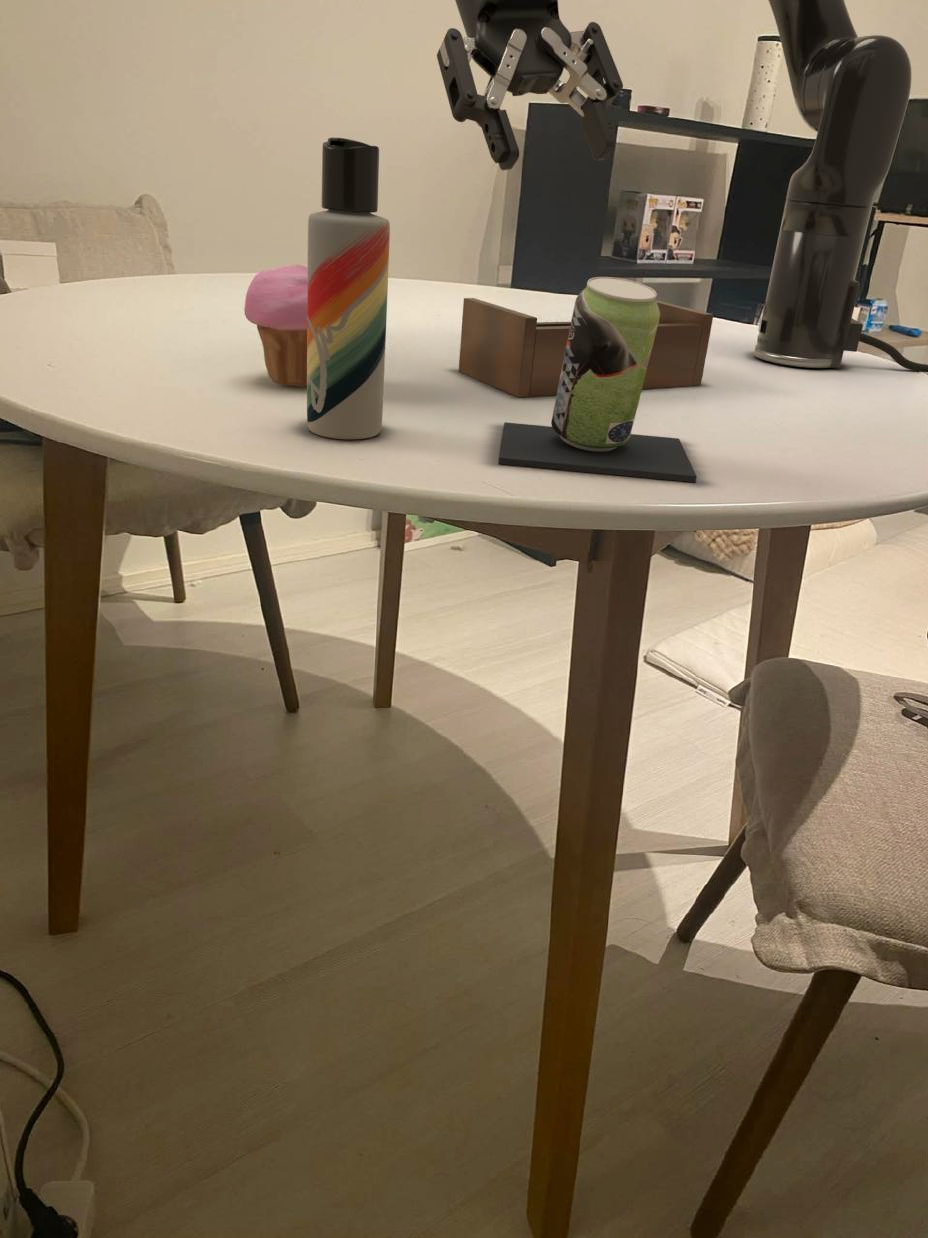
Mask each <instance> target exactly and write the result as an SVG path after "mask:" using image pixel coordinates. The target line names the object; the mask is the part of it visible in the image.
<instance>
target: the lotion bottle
mask: <svg viewBox="0 0 928 1238" xmlns="http://www.w3.org/2000/svg"><path fill="white" fill-rule="evenodd" d="M321 157H322V158H321V162H322V163H321V208H322V209H324V210H321V211H316V212H313V213H310V214H309V215H308V220H307V268H308V286H307V386H306V423H307V428H308V430H309V431H310V432H311V433H313V434H315V435H317V436H320V437H324V438H329V439H337V440H362V439H368V438H372V437H375V436H377V435H379V434H380V433H381V431H382V427H383V426H382V425H383V416H384V415H383V414H384V412H383V411H384V395H385V394H384V392H385V390H384V389H385V365H386V343H387V341H386V339H387V319H388V317H387V315H388V292H389V291H388V290H389V269H390V268H389V267H390V266H389V265H390V238H391V237H390V236H391V234H390V233H391V224H390V221H389V219H387V218H385V217H382V216H380V215H377V214H374V213H378V208H379V173H380V171H379V170H380V147H378V146H377V145H370V144H368V143H365V142H362V141H358V140H354V139H351V138H344V137H329V138H327V141H324V142H323V143H322V153H321Z"/></svg>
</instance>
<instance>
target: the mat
mask: <svg viewBox="0 0 928 1238" xmlns="http://www.w3.org/2000/svg"><path fill="white" fill-rule="evenodd" d="M498 464H499V465H506V466H517V467H527V468H528V467H529V468H539V469H548V470H559V471H569V472H581V473H589V474H590V473H592V474H603V475H612V476H622V477H633V478H644V479H645V478H646V479H654V480H664V481H665V480H666V481H676V482H686V483H696V482H697V478H698V477H697V474H696V472H695V470H694V468H693V465H692V463H691V461H690V459H689V457H688V455H687V453H686V450H685V448H684V446H683V444H682V442H681V440H680V438H677V437H670V436H669V437H666V436H657V435H647V434H646V435H645V434H637V433H636V434H634V433H631V435H630V439H629V440H628V442H627V443H625V444H624V445H621V446H618V447H616V448H615V449H613V450H610V451H604V452H594V451H587V450H583V449H579V448H576V447H573V446H571V445H569V444H567V443H566V442H564V441H563V440H562V439H561V438H560V436H559V434H557V433H556V432H555V431H554V429H553V428H552V426H548V425H538V424H528V423H519V422H518V423H516V422H505V421H504V423H503V429H502V436H501V442H500V449H499V455H498Z"/></svg>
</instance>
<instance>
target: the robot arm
mask: <svg viewBox="0 0 928 1238" xmlns="http://www.w3.org/2000/svg"><path fill="white" fill-rule="evenodd" d="M454 2H455V4H456V7H457V10H458V13H459V16H460V20H461V23H462V25H463V28H464V31H465V35H466V36H463V35H462V33H461V32H460V30H459V29H457V28H455V27H451V28H448V29H447V31H446V33H445V36H444V38H443V40H442V42H441V44H440V46H439V48H438V51H437V53H436V59H437V63H438V67H439V70H440V74H441V77H442V81H443V85H444V89H445V92H446V97H447V100H448V103H449V107H450V111H451V112H450V113H451V115H452V117H453V119H454V120H455V121H456V122H459V123H464V122H466V120H468V121H472V122H475V123H476V124H477V126H478V127H479V128H480V129H481V130H482V133H483V137H484V139H485V142H486V146H487V149H488V152H489V155H490V157H491V159H492V160H493V162H494V163H495V164H498V165H499V166H498V167H499V168H500V170H501V171H509V170H510V171H511V170H512V169H513V167H515V164H516V163H517V161H518V160H519V158H520V149H519V146H518V142H517V140H516V137H515V133H514V131H513V127H512V125H511V122H510V118H509V115H508V113H507V109H501V106H502V104H503V101H504V98H505V96H506V94H507V92H508V93H511V95H512V97H521V96H524V95H526V94H530V93H531V94H536V95H545V94H546V95H547V94H548V93H549V95H551V96H552V97H553V98H554V99H555V100H556V101H558V102H559V103H561V104H568V105H569V106H570V107H571V108H572V109H573V110H575V112H577V114H579V115H580V116H581V119H580V123H581V125H582V129H583V131H584V135H585V137H586V141H587V144H588V147H589V151H590V153H591V156H592V159H593V160H594V161H605V160H606V158H607V157H608V156H609V155H610V153H611V152H612V151H613V150H614V145H615V143H616V142H617V134H616V131H615V129H614V125H613V122H612V119H611V117H610V114H609V113H610V112H609V110H608V109H609V107H610V106H611V104H612V103H613V102H614V100H615V99H616V97H617V96H618V95H619V94H620V93H621V92H622V90H623V88H624V84H623V81H622V79H621V76H620V75H621V74H620V73H619V71H618V68H617V65H616V63H615V60H614V58H613V55H612V53H611V50H610V48H609V45H608V43H607V39H606V37H605V35H604V32H603V30H602V28H601V25H600V24H599V23H597V22H595V21H591V22H589V23H588V24H587V26H586V28H585V29H584V30H576V31H569V29H568V28H567V27H566V25H565V24H564V23H563V21H562V20H561V18H560V13H559V0H454ZM768 3H769V5H770V8H771V11H772V15H773V18H774V21H775V24H776V27H777V31H778V36H779V39H780V44H781V48H782V52H783V57H784V61H785V65H786V69H787V73H788V78H789V82H790V87H791V91H792V95H793V99H794V103H795V106H796V108H797V111H798V114H799V116H800V117H801V119H802V120H803V122H804V123H805V125H807V126H808V127H809V129H811V130H813V131H814V132H816V137H815V141H814V143H813V147H812V150H811V153H810V155H809V156H808V158H807V160H806V161H805V162H804V164H803V165H802V166H801V167H800V168H798V169H797V170H796V171H794V172H793V173H792V175H791V177H790V179H789V183H788V187H787V192H786V195H785V196H786V197H785V202H784V207H783V213H782V217H781V223H780V227H779V232H778V237H777V243H776V247H775V252H774V257H773V262H772V267H771V272H770V277H769V282H768V287H767V292H766V296H765V297H766V298H765V301H764V307H763V311H762V316H761V318H760V319H759V324H758V328H757V330H758V335H757V337H756V338H757V339H756V344H755V346H754V350H753V355H754V357H756V358H757V359H760V360H762V361H766V362H768V363H769V362H770V363H772V364H773V363H774V364H777V365H784V366H791V367H798V368H807V369H808V368H809V369H829V368H833V369H840V368H841V366H842V365H841V363H842V360H843V356H844V352H851V353H853V352H855V353H857V351H858V347H859V343H860V342H861V343H863V344H865V345H869V346H871V347H873V348H876V349H878V350H880V351H882V352H884V353H886V354H887V355H888V356H889V357H890V358H891V359H893V360H894V361H895V363H897V365H899V366H900V367H902V368H904V369H907V370H910V371H913V372H918V373H928V364H927V363H920V362H919V363H918V362H915V361H912V360H909V359H907V358H906V357H905V356H904V355H903V354H902V353H901V352H900V351H899V350H898V349H897V348H896V347H894V346H893V345H891V344H889V343H887V342H886V341H884V340H881V339H879V338H878V337H877V338H876V337H873V336H871V335H868V334H865V333H863V332H862V331H863V326H864V324H863V323H861V322H860V321H858V320H856V319H854V318H853V314H854V310H855V307H856V302H857V297H858V293H859V289H860V282H859V281H858V280H856V277H857V272H858V268H859V264H860V261H861V255H862V251H863V248H864V247H863V246H864V244H865V240H866V239H865V238H866V234H867V232H868V231H867V230H868V226H869V223H870V217H871V213H872V211H873V209H872V207H873V205H874V202H875V197H876V194H877V192H878V190H879V188H880V187H881V186H882V184H883V182H884V181H885V179H886V177H887V176H888V173H889V171H890V168H891V165H892V162H893V158H894V155H895V151H896V147H897V145H898V140H899V137H900V133H901V130H902V128H903V127H902V126H903V123H904V119H905V117H906V112H907V109H908V105H909V99H910V95H911V88H912V75H913V74H912V65H911V60H910V57H909V54H908V52H907V50H906V48H904V46H903V45H902V44H901V43H900V42H899V41H898V40H897V39H895V38H893V37H890V36H887V35H881V34H873V35H864V36H858V34H857V31H856V30H855V27H854V25H853V23H852V19H851V17H850V14H849V11H848V8H847V5H846V2H845V0H768ZM471 60H473V62H474V63H475V64H476V65H478V67H480V69H481V70H482V71H483V72H485V74H487V75H488V76H489V78H488V82H487V85H486V87H485V90H484V92H483V94H478V90H477V87H476V83H475V79H474V76H473V72H472V68H471V64H470V62H471ZM564 70H566V71H567V73H568V74H569V78H568V80H566V81H567V82H563V81H561V80H560V78H561V77H562V75H563V72H564ZM577 88H579V89H580V90H581V92H583V93H584V94H585V95H586V96H587V97H586V96H584V95H583V94H582V93H581V92H580V91H579V90H578V89H577Z"/></svg>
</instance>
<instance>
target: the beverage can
mask: <svg viewBox="0 0 928 1238" xmlns="http://www.w3.org/2000/svg"><path fill="white" fill-rule="evenodd" d="M657 296H658V293H657V291H656V290H655V289H653V288H652V287H650V286H648V285H646V284H643V283H641V282H639V281H634V280H630V279H625V278H620V277H613V276H596V277H592V278H589V279H588V280H587V282H586V287H585V288H583V290H581V291H580V293H578V295H577V296H576V299H575V301H574V305H573V310H572V315H571V320H570V322H571V325H570V330H569V335H568V340H567V345H566V350H565V355H564V360H563V365H562V370H561V375H560V381H559V386H558V391H557V395H555V396H556V397H555V402H554V406H553V411H552V415H551V422H550V425H551V427H552V428H553V429H554V431H555V432H556V433H557V434H559V436H560V438H561V439H562V440H563V441H564V442H566V443H567V444H569V445H571V446H573V447H576V448H579V449H583V450H587V451H594V452H604V451H610V450H613V449H615V448H616V447H618V446H621V445H624V444H625V443H627V442H628V440H629V439H630V435H631V434H632V431H633V426H634V422H635V419H636V415H637V410H638V407H639V403H640V399H641V394H642V390H643V389H642V387H643V383H644V379H645V375H646V371H647V367H648V363H649V359H650V355H651V351H652V347H653V343H654V339H655V335H656V331H657V326H658V322H659V318H660V311H659V308H658V305H657V303H656V300H657Z"/></svg>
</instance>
